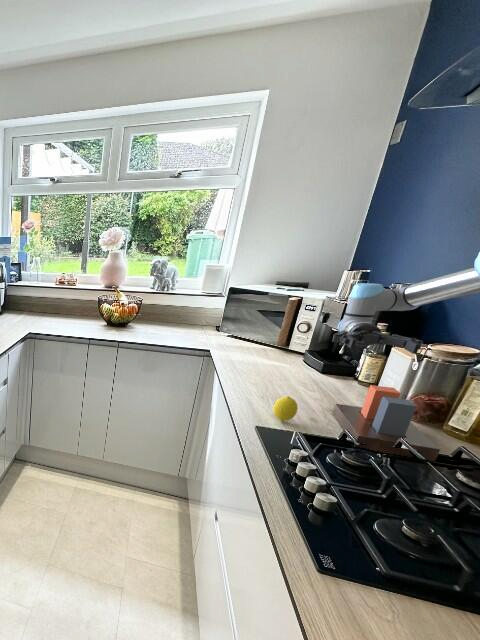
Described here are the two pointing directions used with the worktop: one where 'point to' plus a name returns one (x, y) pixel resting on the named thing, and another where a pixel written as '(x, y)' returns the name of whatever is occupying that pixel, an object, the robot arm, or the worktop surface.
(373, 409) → the pad
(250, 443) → the worktop surface
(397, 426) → the pad
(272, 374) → the worktop surface
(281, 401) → the lemon
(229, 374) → the worktop surface
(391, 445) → the dock
